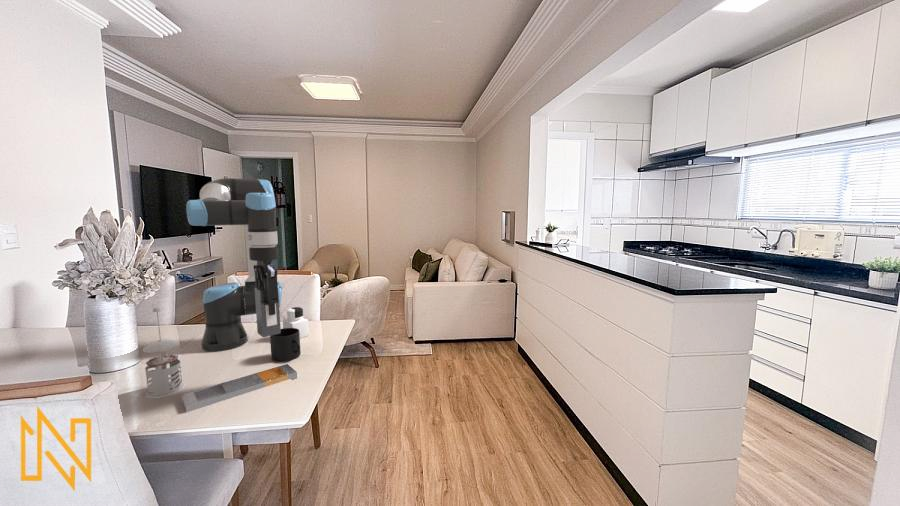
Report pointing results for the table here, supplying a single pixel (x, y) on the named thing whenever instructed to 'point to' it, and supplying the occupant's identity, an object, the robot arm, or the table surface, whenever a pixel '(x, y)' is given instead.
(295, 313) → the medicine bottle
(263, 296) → the graphite post
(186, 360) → the table surface
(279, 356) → the mug
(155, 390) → the french press
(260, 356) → the table surface
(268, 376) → the rail
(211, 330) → the robot arm
